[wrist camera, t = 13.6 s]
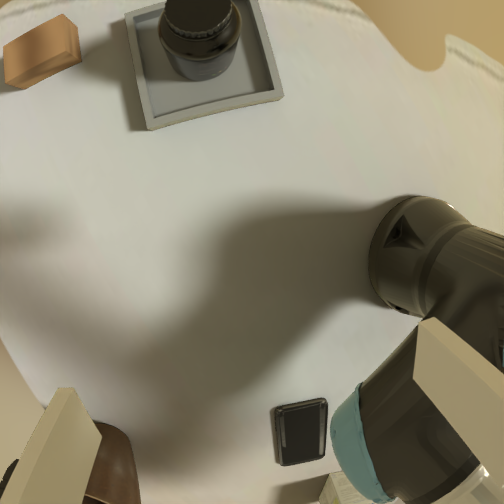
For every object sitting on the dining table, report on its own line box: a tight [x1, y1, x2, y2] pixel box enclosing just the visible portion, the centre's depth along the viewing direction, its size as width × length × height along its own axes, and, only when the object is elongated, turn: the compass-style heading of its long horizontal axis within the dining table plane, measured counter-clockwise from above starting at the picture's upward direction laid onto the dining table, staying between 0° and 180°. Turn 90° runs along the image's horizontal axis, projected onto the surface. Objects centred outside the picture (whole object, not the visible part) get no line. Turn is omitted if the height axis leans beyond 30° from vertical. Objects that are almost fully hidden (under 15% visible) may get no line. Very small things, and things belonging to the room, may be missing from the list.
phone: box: [275, 398, 328, 466], centre depth 45 cm, size 8×1×15 cm
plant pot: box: [82, 423, 141, 504], centre depth 34 cm, size 15×15×16 cm
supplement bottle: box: [157, 0, 242, 81], centre depth 23 cm, size 7×7×12 cm
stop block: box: [3, 14, 82, 89], centre depth 24 cm, size 8×5×4 cm, turn 103°
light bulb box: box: [319, 471, 375, 504], centre depth 46 cm, size 11×7×11 cm, turn 177°
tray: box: [124, 0, 284, 131], centre depth 28 cm, size 14×14×2 cm
